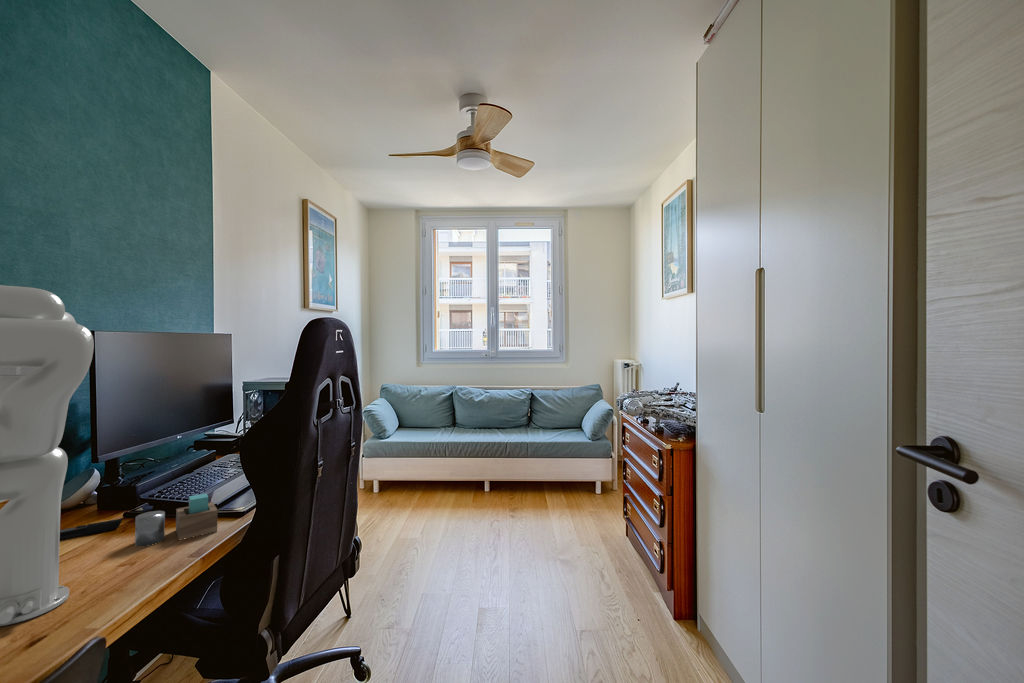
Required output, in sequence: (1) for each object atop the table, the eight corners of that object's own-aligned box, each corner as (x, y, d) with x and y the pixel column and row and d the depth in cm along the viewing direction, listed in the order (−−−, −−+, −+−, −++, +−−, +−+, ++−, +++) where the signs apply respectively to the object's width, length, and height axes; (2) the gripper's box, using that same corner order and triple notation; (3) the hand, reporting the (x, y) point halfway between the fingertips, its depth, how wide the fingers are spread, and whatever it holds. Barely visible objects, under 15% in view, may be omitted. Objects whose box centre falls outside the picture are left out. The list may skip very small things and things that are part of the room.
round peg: (165, 542, 115) (165, 515, 116) (135, 549, 111) (135, 521, 112) (163, 534, 120) (164, 509, 120) (134, 541, 116) (135, 514, 116)
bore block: (217, 531, 122) (217, 510, 122) (178, 540, 116) (179, 517, 116) (212, 522, 128) (212, 501, 128) (175, 530, 123) (176, 508, 123)
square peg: (207, 525, 122) (208, 496, 123) (190, 529, 120) (190, 500, 120) (205, 521, 125) (206, 493, 125) (188, 524, 123) (189, 496, 123)
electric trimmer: (121, 531, 123) (122, 520, 123) (41, 545, 113) (42, 533, 113) (122, 527, 126) (123, 516, 126) (45, 540, 116) (45, 528, 116)
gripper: (-47, 373, 95) (-49, 451, 95) (66, 370, 107) (64, 440, 107) (-38, 371, 101) (-40, 445, 101) (69, 369, 113) (67, 436, 112)
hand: (14, 443), depth 104 cm, fingers open, 9 cm apart
